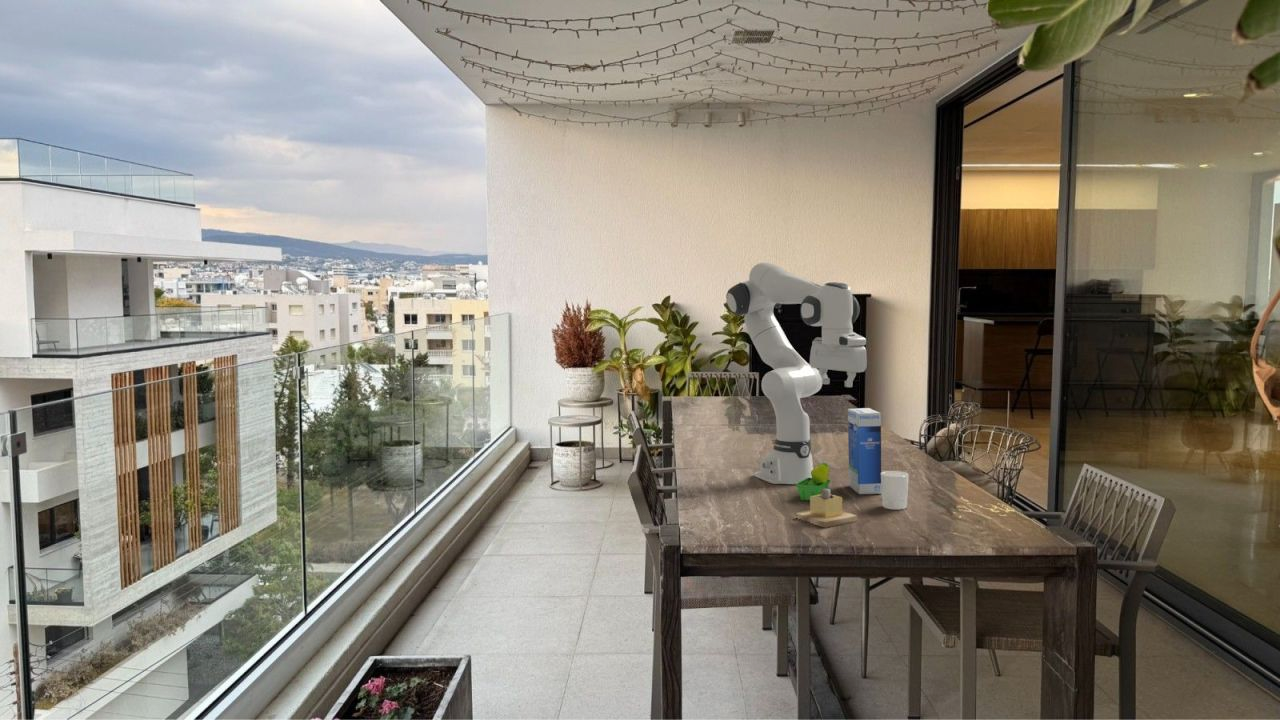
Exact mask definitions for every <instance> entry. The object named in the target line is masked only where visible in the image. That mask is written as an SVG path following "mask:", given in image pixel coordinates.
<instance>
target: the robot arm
mask: <svg viewBox="0 0 1280 720" xmlns="http://www.w3.org/2000/svg"><path fill="white" fill-rule="evenodd" d="M748 275H749V277H748V279H749V280H745V281H743V282H738V283H737V284H735V285H733V286H732V287H730V288H729V289H728V290H727V293H726V296H725V299H726V303H727V306H728V309H729V310H730V312H732V314H734V315H736V316H744V318H743V320H744V323H745V324H744V325H745V327H746V330H747V333H748V335H749V338H750V339H751V342H752V344H753V345H754V347H755V350H756V351H757V353H758V355H759V357H760V359H761V361H762V362H763V363H765V365H768V366H769V367H771V368H772V369H773V370H771V371H768V372H766V373H765V374H764V376H763V377H762V380H761V383H760V384H761V385H760V386H761V391H762V393H763V394H764V396H765V397H767V399H768V400H769V401H770V403H771V405H772V408H773V411H774V414H775V423H776V439H772V440H771V444H774V445H773V447H772V448H773V449H772V450H771V451H769V453H768V454H766V455H764V457H763V458H762V459H761V461H760V469H759V470H758V471H756V472H754V473H753V476H754V477H755V478H757V479H759V480H763V481H765V482H766V483H767V482H768V483H770V484H772V485H784V484H785V485H796V484H797V483H799V482H801V481H803V480H805V479H806V478H812V476H811V471H812V470H813V469H814V463H813V455H812V453H811V450H812V440H811V437H810V431H811V430H810V429H811V427H810V425H811V424H810V417H809V415H808V413H807V412H805V411H804V409H803V407H802V403H801V399H803V398H808V397H811V396H813V395H814V394H816V393H818V392H820V390H822V387H823V385H830V384H831V383H830V380H831V379H830V377H828V374H827V373H828V370H830V371H831V370H832V371H838V372H839V371H840V372H846V375H847V379H846V380H844V387H845V388H853V382H854V380H855V378H856V376H857V373H864V372H865V371H866V370H867V365H868V358H867V356H868V355H867V349H866V347H865V345H866V344H867V339H866V338H865V337H864V336H863V335H860V334H858V333H856V332H854V330H853V329H854V327H853V324H854V323H855V322H856V320H857V319H858V317H859V315H860V312H861V311H860V310H861V307H860V304H859V301H858V300H857V298H856V297H855V295H853V291H852V288H851V287H850V285H849V284H847V283H843V282H836V281H835V282H833V281H832V282H826V283H824V284H823V286H821V285H819V284H816V283H814V282H811V281H809V280H808V279H805V278H803V277H800V276H798V275H796V274H794V273H792V272H790V271H788V270H786V269H784V268H782V267H781V266H778V265H776V264H773V263H769V262H760V263H756V264H755V265H754V266H752V268H751V269H750V271H749V274H748ZM797 304H800V307H799V313H800V318H801V319H802V321H803V323H804V324H806V325H807V326H812V327H821V337H819V336H818V337H815V338H814V339H813V340H812V343H811V344H812V345H811V348H810V355H809V363H808V362H807V361H806V360H805V359H804V358H803V357H802V356H801V355H800V354H799V352H798V351H796V350H795V348H794V347H793V345H792V344H791V343H790V341H789V339H788V338H787V335H786V334H785V331H784V330H783V328H782V327H781V324H780V323H779V321H778V320H777V318H776V316H775V314H774V309H780V308H781V307H782V305H797Z"/></svg>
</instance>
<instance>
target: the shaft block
mask: <svg viewBox="0 0 1280 720" xmlns="http://www.w3.org/2000/svg"><path fill="white" fill-rule="evenodd" d="M830 494H831V489H830V488H828V489H822V498H824V499H828V498H833V495H834V494H832V495H830ZM796 518H798V519H797V520H799V519H801V520H800V521H802V520H804V521H803V522H805V521H807V522H806V523H809V522H810V523H809V524H812V523H813V524H812V525H816V526H819V527H822V528H830V527H834V526H835V527H836V526H840V525H844V524H850V523H855V522H858V515H856V514H853V513H850V512H846V511H844V510H842V515H840V516H835V517H830V518H823V517H820V516H816V515H813V514H810V509H809V510H804V511H800V512H795V519H796Z"/></svg>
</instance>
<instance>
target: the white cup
mask: <svg viewBox="0 0 1280 720" xmlns="http://www.w3.org/2000/svg"><path fill="white" fill-rule="evenodd" d="M881 490H882V494H881V498H882V507H883V508H884V509H887V510H892V511H893V510H905V509H907V505H908V493H909V473H908V472H906V471H900V470H886V471H885V470H884V471H881Z"/></svg>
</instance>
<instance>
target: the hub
mask: <svg viewBox="0 0 1280 720" xmlns="http://www.w3.org/2000/svg"><path fill="white" fill-rule="evenodd" d="M830 495H833V498H828V499H824V498H822V494H819V495H814V496H810V501H809V502H810V503H809V510H810V514H813V515H816V516H820V517H823V518H830V517H835V516H840V515H842V511H843V497H842V496H838V495H834V494H833V493H832V494H831V493H830Z"/></svg>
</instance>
